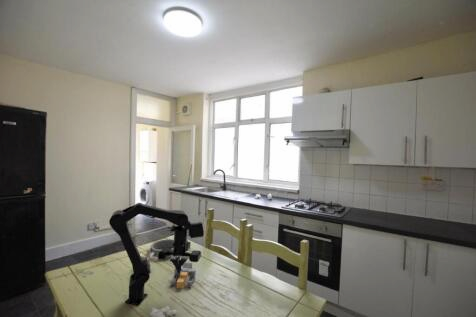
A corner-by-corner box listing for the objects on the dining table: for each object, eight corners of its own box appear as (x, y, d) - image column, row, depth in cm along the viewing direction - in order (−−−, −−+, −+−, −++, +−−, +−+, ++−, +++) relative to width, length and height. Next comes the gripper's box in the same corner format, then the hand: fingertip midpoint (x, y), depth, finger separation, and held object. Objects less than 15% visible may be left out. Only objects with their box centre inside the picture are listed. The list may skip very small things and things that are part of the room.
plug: (184, 288, 100) (184, 280, 100) (175, 288, 100) (175, 279, 100) (191, 270, 116) (192, 263, 116) (184, 269, 116) (184, 262, 116)
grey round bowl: (172, 261, 126) (172, 252, 126) (144, 257, 129) (144, 249, 129) (184, 247, 144) (185, 240, 144) (159, 245, 147) (159, 238, 147)
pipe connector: (160, 263, 122) (161, 246, 122) (152, 272, 112) (152, 253, 112) (144, 262, 123) (144, 244, 123) (134, 271, 113) (134, 252, 113)
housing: (191, 287, 101) (191, 275, 101) (170, 285, 102) (171, 273, 102) (195, 279, 107) (195, 269, 107) (176, 277, 109) (176, 267, 108)
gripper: (204, 234, 105) (204, 266, 106) (168, 231, 108) (167, 262, 108) (198, 243, 94) (197, 278, 95) (157, 240, 97) (156, 274, 97)
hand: (179, 273), depth 99 cm, fingers closed
